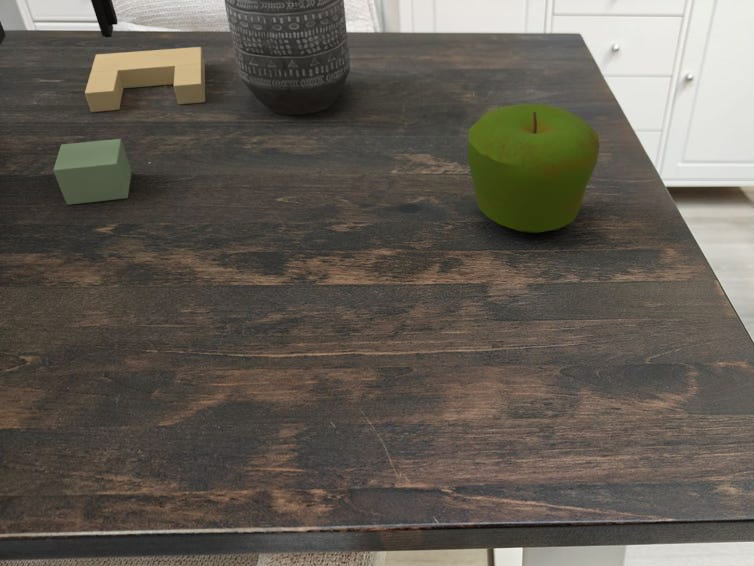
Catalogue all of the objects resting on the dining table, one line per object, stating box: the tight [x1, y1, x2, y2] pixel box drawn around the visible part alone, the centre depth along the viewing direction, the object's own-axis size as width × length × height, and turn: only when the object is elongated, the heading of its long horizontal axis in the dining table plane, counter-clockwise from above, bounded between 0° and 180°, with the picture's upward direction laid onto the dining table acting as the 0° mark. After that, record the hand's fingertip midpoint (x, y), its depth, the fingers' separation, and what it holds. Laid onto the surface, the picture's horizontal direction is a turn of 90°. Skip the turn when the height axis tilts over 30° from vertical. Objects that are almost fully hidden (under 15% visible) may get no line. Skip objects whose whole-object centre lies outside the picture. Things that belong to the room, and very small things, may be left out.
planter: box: [224, 0, 351, 116], centre depth 94 cm, size 14×14×15 cm
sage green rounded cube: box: [52, 138, 132, 206], centre depth 79 cm, size 6×6×4 cm
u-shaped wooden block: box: [84, 46, 206, 113], centre depth 100 cm, size 14×14×2 cm
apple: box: [467, 103, 600, 234], centre depth 73 cm, size 12×12×11 cm
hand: (54, 37), depth 71 cm, fingers open, 9 cm apart
